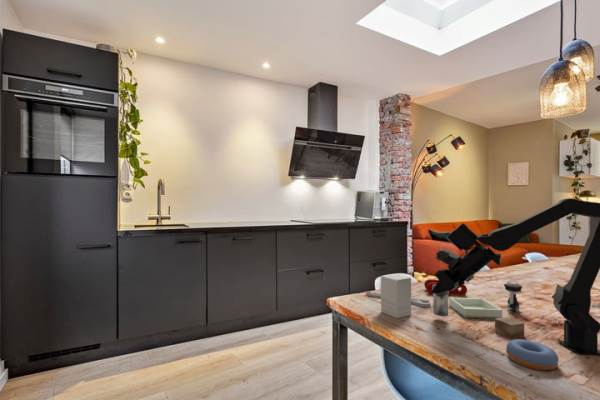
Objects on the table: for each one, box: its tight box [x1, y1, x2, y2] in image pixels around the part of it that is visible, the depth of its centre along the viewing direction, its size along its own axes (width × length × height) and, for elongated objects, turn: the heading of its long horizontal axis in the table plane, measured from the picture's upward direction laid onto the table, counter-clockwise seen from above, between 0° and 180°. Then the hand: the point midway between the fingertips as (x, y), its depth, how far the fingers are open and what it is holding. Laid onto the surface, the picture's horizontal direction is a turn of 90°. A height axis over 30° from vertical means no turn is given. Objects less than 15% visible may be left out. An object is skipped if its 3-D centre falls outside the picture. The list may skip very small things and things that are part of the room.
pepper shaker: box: [432, 284, 450, 317], centre depth 98 cm, size 5×5×9 cm
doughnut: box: [505, 338, 559, 371], centre depth 72 cm, size 10×10×5 cm
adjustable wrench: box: [365, 291, 432, 308], centre depth 119 cm, size 25×6×2 cm, turn 53°
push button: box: [503, 281, 523, 314], centre depth 107 cm, size 7×5×10 cm
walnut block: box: [494, 316, 525, 340], centre depth 87 cm, size 5×5×4 cm
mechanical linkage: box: [424, 278, 468, 296], centre depth 128 cm, size 16×7×5 cm, turn 76°
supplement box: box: [380, 273, 412, 319], centre depth 103 cm, size 7×7×13 cm
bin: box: [448, 297, 503, 320], centre depth 105 cm, size 12×12×3 cm
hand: (436, 290), depth 99 cm, fingers closed on pepper shaker, 5 cm apart
